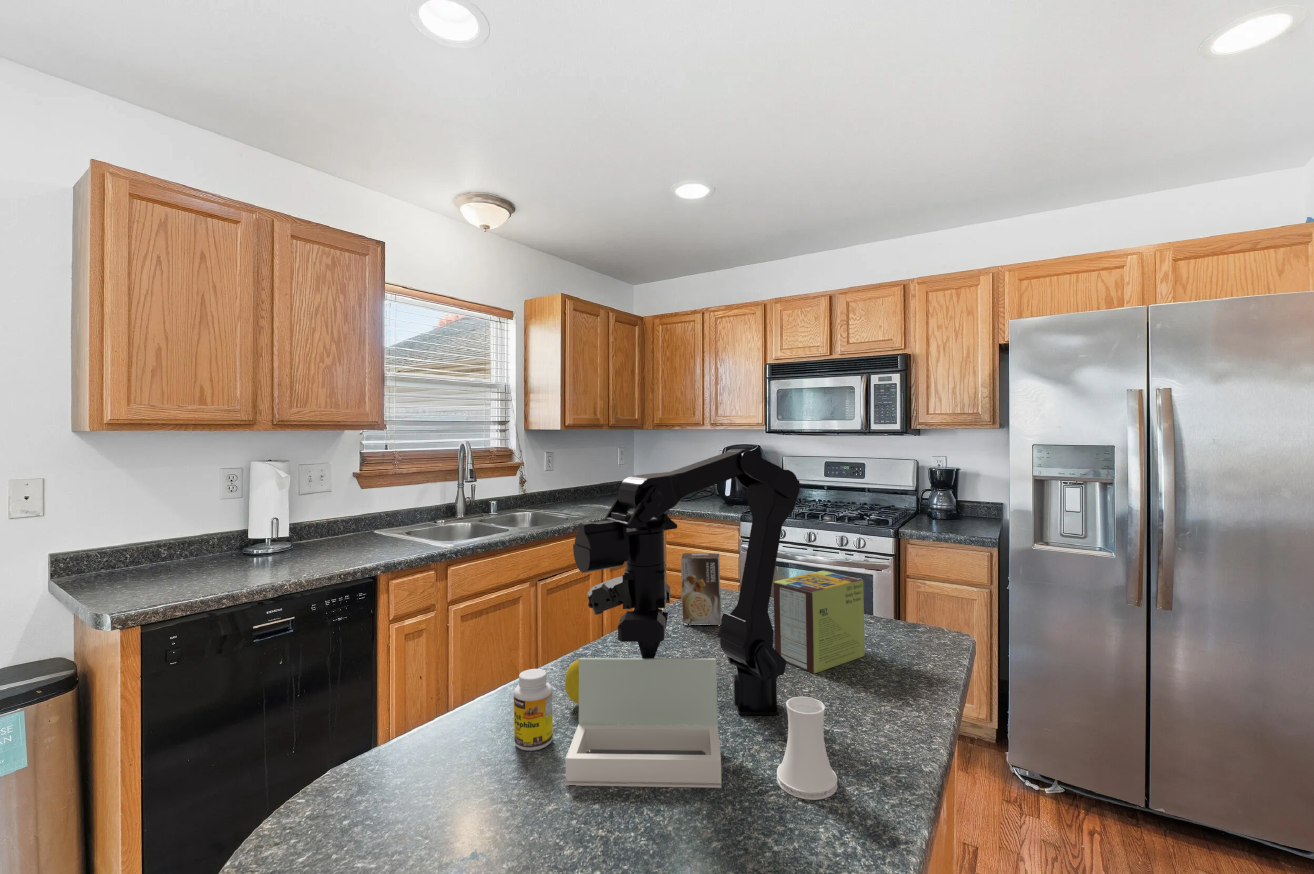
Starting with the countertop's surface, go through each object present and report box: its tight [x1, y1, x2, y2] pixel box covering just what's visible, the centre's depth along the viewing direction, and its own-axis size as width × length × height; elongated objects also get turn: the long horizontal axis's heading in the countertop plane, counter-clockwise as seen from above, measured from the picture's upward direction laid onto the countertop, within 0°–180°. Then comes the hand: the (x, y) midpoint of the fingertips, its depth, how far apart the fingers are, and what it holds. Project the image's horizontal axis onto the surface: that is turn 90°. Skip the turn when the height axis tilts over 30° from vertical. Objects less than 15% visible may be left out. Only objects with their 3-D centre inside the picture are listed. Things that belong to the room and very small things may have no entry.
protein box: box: [772, 570, 866, 675], centre depth 118 cm, size 10×15×16 cm
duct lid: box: [578, 657, 719, 725], centre depth 86 cm, size 20×9×1 cm
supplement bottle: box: [513, 668, 554, 752], centre depth 87 cm, size 6×6×10 cm
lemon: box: [564, 657, 581, 705], centre depth 99 cm, size 6×6×8 cm
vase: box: [776, 696, 838, 801], centre depth 76 cm, size 8×8×10 cm
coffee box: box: [680, 552, 722, 625], centre depth 142 cm, size 9×6×16 cm
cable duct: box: [565, 723, 722, 789], centre depth 80 cm, size 20×9×4 cm, turn 87°
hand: (647, 665), depth 87 cm, fingers closed
